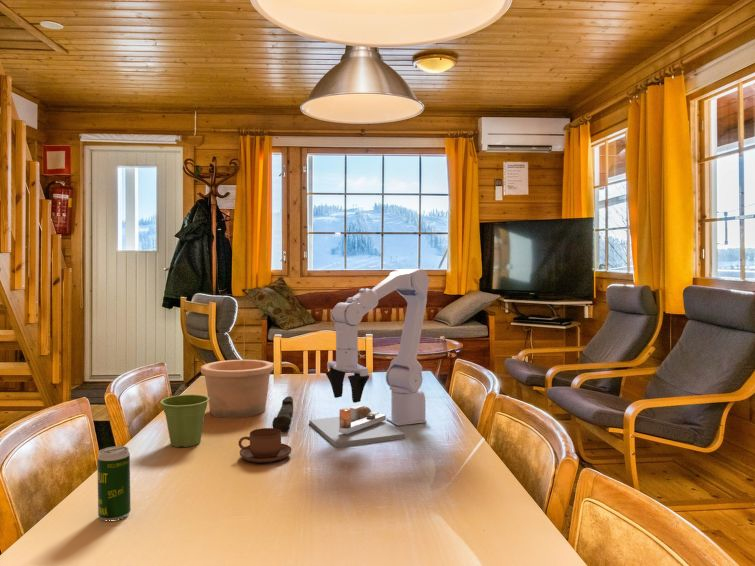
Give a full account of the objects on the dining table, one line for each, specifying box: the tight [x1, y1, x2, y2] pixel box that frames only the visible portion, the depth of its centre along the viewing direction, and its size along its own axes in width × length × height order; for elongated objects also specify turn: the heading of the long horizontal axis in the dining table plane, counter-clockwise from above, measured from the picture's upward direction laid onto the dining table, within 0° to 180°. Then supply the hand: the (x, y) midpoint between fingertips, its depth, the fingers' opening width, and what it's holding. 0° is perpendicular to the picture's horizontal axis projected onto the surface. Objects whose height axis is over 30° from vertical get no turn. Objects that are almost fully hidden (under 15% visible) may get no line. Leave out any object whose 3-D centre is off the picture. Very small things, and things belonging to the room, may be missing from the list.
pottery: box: [200, 359, 275, 419], centre depth 182 cm, size 22×22×14 cm
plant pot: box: [160, 394, 210, 448], centre depth 150 cm, size 12×12×11 cm
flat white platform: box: [308, 404, 406, 448], centre depth 161 cm, size 19×23×4 cm
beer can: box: [96, 445, 132, 521], centre depth 107 cm, size 5×5×12 cm
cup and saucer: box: [238, 427, 292, 464], centre depth 139 cm, size 12×12×6 cm
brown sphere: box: [359, 406, 372, 419], centre depth 169 cm, size 4×4×4 cm
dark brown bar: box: [271, 396, 294, 434], centre depth 171 cm, size 23×5×6 cm, turn 0°
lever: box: [339, 408, 387, 434], centre depth 160 cm, size 18×5×6 cm, turn 143°
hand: (347, 399), depth 156 cm, fingers open, 7 cm apart
